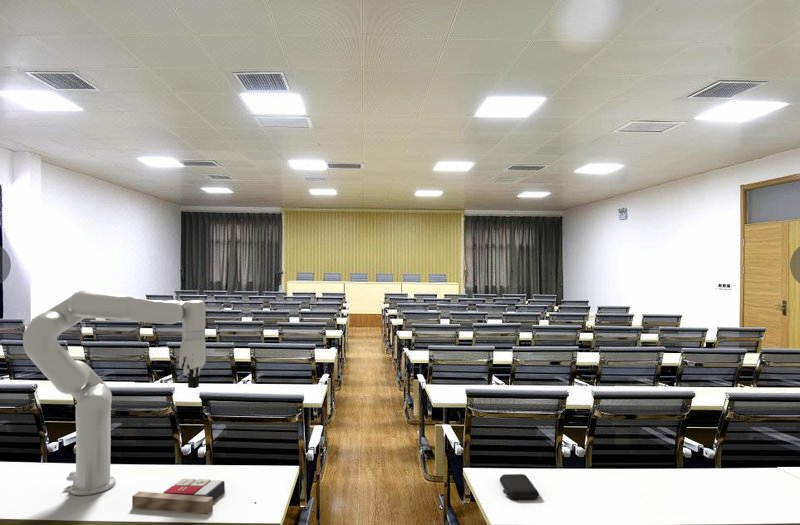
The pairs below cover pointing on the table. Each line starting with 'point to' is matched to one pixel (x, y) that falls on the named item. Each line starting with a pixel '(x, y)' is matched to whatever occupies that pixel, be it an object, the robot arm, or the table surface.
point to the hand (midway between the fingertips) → (193, 387)
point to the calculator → (198, 488)
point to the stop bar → (172, 502)
